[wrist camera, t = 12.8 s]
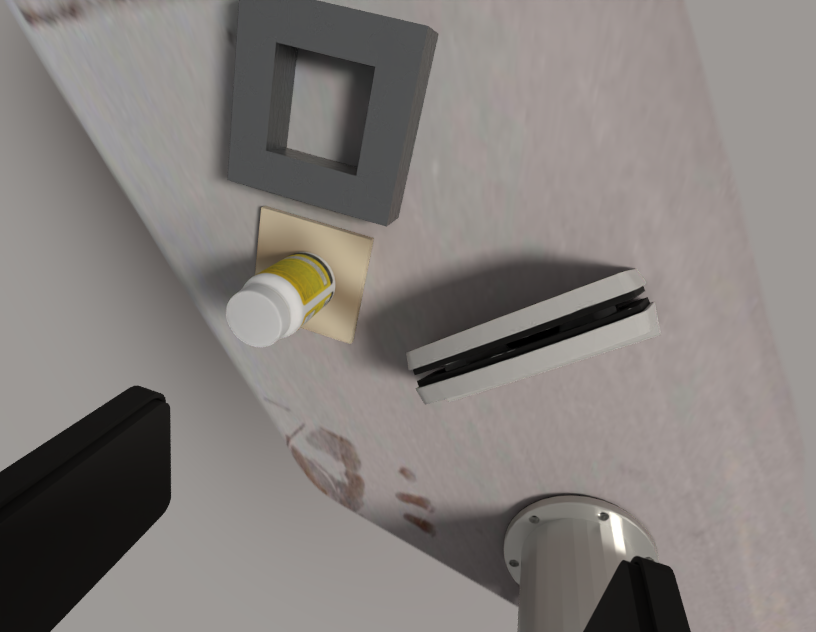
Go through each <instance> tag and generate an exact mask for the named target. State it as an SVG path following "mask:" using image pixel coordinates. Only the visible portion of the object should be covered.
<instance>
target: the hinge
mask: <svg viewBox="0 0 816 632" xmlns="http://www.w3.org/2000/svg"><path fill="white" fill-rule="evenodd" d="M645 284H647V283H646V281H645V280H644V278H643V277H642V276H641V274H640V273H639V271H638V270H637V269H632V270H628V271H624V272H621V273H618V274H615V275H613V276H610V277H607V278H605V279H602V280H599V281H597V282H594V283H591V284H588V285H586V286H583V287H580V288H577V289H575V290H572V291H569V292H567V293H564V294H561V295H558V296H556V297H553V298H550V299H548V300H545V301H542V302H539V303H537V304H534V305H531V306H529V307H526V308H523V309H521V310H518V311H515V312H513V313H510V314H507V315H505V316H502V317H499V318H497V319H494V320H491V321H489V322H486V323H483V324H481V325H478V326H475V327H473V328H470V329H467V330H465V331H462V332H459V333H457V334H454V335H452V336H449V337H446V338H444V339H441V340H438V341H436V342H433V343H431V344H428V345H425V346H423V347H420V348H417V349H415V350H412V351H410V352H407V353H406V355H407V362H408V369H409V370H412V369H413V371H414V374H415V375H417V374H420V373H423V372H426V371H429V370H432V369H435V368H438V367H441V366H444V367H445V368H443V369H440V370H437V371H435V372H433V373H431V374H430V375H428V376H426V377H424V378H422V379H421V380H419V381H417V382H418V385H419V387H417V388H416V390H417V392H418V394H419V395H420V397H421V399H422V401H423V402H424V404H430V403H433V402H437V401H441V400H444V399H446V400H447V401H448V402H452V401H456V400H459V399H462V398H465V397H468V396H471V395H474V394H478V393H481V392H484V391H487V390H490V389H493V388H497V387H500V386H503V385H506V384H509V383H512V382H515V381H519V380H522V379H525V378H528V377H531V376H534V375H537V374H541V373H544V372H547V371H550V370H553V369H556V368H559V367H563V366H566V365H569V364H572V363H575V362H578V361H582V360H585V359H588V358H591V357H594V356H597V355H600V354H604V353H607V352H610V351H613V350H616V349H619V348H622V347H626V346H629V345H632V344H635V343H638V342H641V341H644V340H648V339H651V338H654V337H657V336H660V335H661V332H660V327H659V322H658V317H657V311H656V306H655V302H651V303H650V302H649V299H648V297H647V298H644V299H641V300H638V301H635V302H633V303H630V304H627V305H624V306H622V307H621V308H619V311H616V307H615V305H617V304H619V303H622V302H625V301H628V300H630V299H633V298H635V297H637V296H638V295H640V294H641V293H643V292H644V291H645V290H644V287H643V285H645ZM558 325H559V329H560V330H559V333H557V334H554V335H551V336H548V337H545V338H542V339H540V340H537V341H534V342H531V343H528V344H525V345H522V346H519V347H516V348H513V349H511V348H509V347H508V346H507V345H506V344H508V343H510V342H513V341H516V340H519V339H522V338H525V337H528V336H530V335H533V334H536V333H539V332H542V331H544V330H547V329H550V328H553V327H556V326H558Z"/></svg>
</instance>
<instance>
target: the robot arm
mask: <svg viewBox="0 0 816 632" xmlns="http://www.w3.org/2000/svg"><path fill="white" fill-rule="evenodd" d="M170 445H171V444H170V406H169V404H168V403H166V400H165V397H164V395H163V394H161V393H158V392H155V391H152V390H149V389H147V388H144V387H141V386H133V387H130V388H129V389H127V390H126V391H124V392H122V393H121V394H119V395H118V396H116V397H115V398H113V399H112V400H110V401H109V402H107V403H105V404H104V405H103V406H101V407H99V408H98V409H96V410H95V411H93V412H92V413H90V414H89V415H87V416H85V417H84V418H82V419H81V420H80V421H78V422H76V423H75V424H73V425H72V426H70V427H69V428H67V429H66V430H64V431H62V432H61V433H59V434H58V435H56V436H55V437H53V438H52V439H50V440H49V441H47V442H46V443H44V444H42V445H41V446H39V447H38V448H36V449H35V450H33V451H32V452H30V453H29V454H27V455H26V456H24V457H23V458H21V459H20V460H18V461H16V462H15V463H13V464H12V465H11V466H9V467H7V468H6V469H4V470H3V471H1V472H0V632H50V631H51V630H52V629H53V628H54V627H55V626H56V625H57V624H58V623H59V622H60V621H61V620H62V619H63V618H64V617H65V616H66V614H68V613H69V612H70V611H71V609H72V608H73V607H74V606H75V605H76V604H77V603H78V602H79V601H80V600H81V599H82V598H83V597H84V596H85V595H86V594H87V593H88V592H89V591H90V590H91V589H92V588H93V587H94V585H95V584H96V583H98V581H99V580H100V579H101V578H102V577H103V576H104V575H105V574H106V573H107V572H108V571H109V570H110V569H111V568H112V567H113V566H114V565H115V564H116V563H117V562H118V561H119V560H120V559H121V558H122V556H123V555H124V554H125V553H126V552H127V551H128V550H129V549H130V548H131V547H132V546H133V545H134V544H135V543H136V542H137V541H138V540H139V539H140V538H141V537H142V536H143V535H144V534H145V533H146V532H147V530H149V528H150V527H151V526H152V525H153V524H154V523H155V522H156V521H157V520H158V519H159V518H160V517H161V516H162V515H163V513H164V512H165V511H166V509H167V507H168V505H169V503H170V500H171V453H170V451H171V447H170ZM503 550H504V560H505V563H506V566H507V568H508V571H509V572H510V574H511V576H512V577H513V579H514V580H515V581H516V583H517V584H518V585H519V586H520V591H519V611H518V631H517V632H691V631H690V628H689V624H688V621H687V617H686V614H685V610H684V607H683V603H682V599H681V596H680V592H679V589H678V585H677V582H676V578H675V575H674V573H673V570H672V569H671V568H670V567H669V566H666V565H663V564H660V563H659V557H658V554H657V550H656V547H655V543H654V541H653V540H652V538H651V536H650V534H649V532H648V531H647V530H646V529H645V527H644V526H643V525H642V524H641V523H640V522H639V521H638V520H637V519H636V518H634V517H633V516H632V515H631V514H630V513H628V512H626V511H624V510H623V509H621V508H619V507H617V506H615V505H613V504H610V503H608V502H605V501H603V500H599V499H594V498H590V497H584V496H572V495H571V496H556V497H551V498H547V499H543V500H540V501H538V502H535V503H533V504H530V505H529V506H527V507H526V508H524V509H523V510H521V511H520V512H519V513H518V514H517V515H516V516H515V517H514V518H513V519H512V521H511V523H510V524H509V526H508V528H507V531H506V534H505V538H504V549H503Z"/></svg>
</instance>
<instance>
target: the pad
mask: <svg viewBox="0 0 816 632" xmlns="http://www.w3.org/2000/svg"><path fill="white" fill-rule="evenodd" d="M373 240H374V238H371V237H368V236H365V235H361V234H358V233H355V232H351V231H348V230H345V229H341V228H338V227H334V226H331V225H328V224H324V223H321V222H318V221H314V220H311V219H308V218H304V217H301V216H297V215H294V214H291V213H287V212H284V211H281V210H277V209H274V208H271V207H267V206H264V207H261V216H260V227H259V237H258V248H257V258H256V269H255V275H256V274H258V273H260V272H261V271H263V270H265V269H267V268H268V267H270V266H272V265H274V264H275V263H277V262H279V261H281V260H282V259H284V258H286V257H287V256H289V255H291V254H294V253H297V252H310V253H314V254H316V255H318V256H320V257H321V258H323V259H324V260H325V261H326V262H327V263H328V264H329V266H330V267H331V269H332V271H333V274H334V277H335V292H334V295H333V297H332V299H331V300H330V301H329V302H328V303H327V304H326V305H325V306H324V307H323V308H322V309H321V310H320V311H319V312H318V313H316V314H315V315H314V316H313V317H312V318H311V319H310V320H309V321H307V322H306V323H305V324H304V325H303V326H302V327H301V328H303V329H306V330H309V331H312V332H316V333H319V334H322V335H325V336H328V337H331V338H334V339H337V340H340V341H343V342H346V343H349V344H351V343H352V342H353V340H354V335H355V330H356V325H357V320H358V315H359V310H360V305H361V300H362V295H363V290H364V285H365V280H366V275H367V270H368V265H369V260H370V255H371V250H372V245H373Z"/></svg>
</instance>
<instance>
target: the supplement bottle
mask: <svg viewBox="0 0 816 632" xmlns="http://www.w3.org/2000/svg"><path fill="white" fill-rule="evenodd" d="M334 292H335V277H334V274H333V271H332V269H331V267H330V266H329V264H328V263H327V262H326V261H325V260H324V259H323V258H321V257H320V256H318V255H316V254H314V253H310V252H297V253H294V254H291V255H289V256H287V257H286V258H284V259H282V260H281V261H279V262H277V263H275V264H274V265H272V266H270V267H268V268H267V269H265V270H263V271H261V272H260V273H258V274H256V275H254V276H253V277H251V278H250V279H249V280H248V281H247V282H246V283H245V285H244V286H243V288H242V289H241V290H240V291H239V292H237V293H236V294H234V295H233V296H232V297H231V298H230V300H229V302H228V304H227V307H226V319H227V322H228V325H229V327H230V329H231V330H232V332H233V333H234V334H235V336H236V337H237V338H238V339H240V340H241V341H242V342H244V343H246V344H247V345H250V346H253V347H267V346H270V345H272V344H274V343H275V342H276V341H277V340H279V339H281V338H285V337H288V336H290V335H292V334H294V333H295V332H296V331H297V330H299V329H300V328H301V327H302V326H303V325H304V324H305V323H306V322H307V321H309V320H310V319H311V318H312V317H313V316H314V315H315V314H316V313H318V312H319V311H320V310H321V309H322V308H323V307H324V306H325V305H326V304H327V303H328V302H329V301H330V300H331V299H332V297H333V295H334Z"/></svg>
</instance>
